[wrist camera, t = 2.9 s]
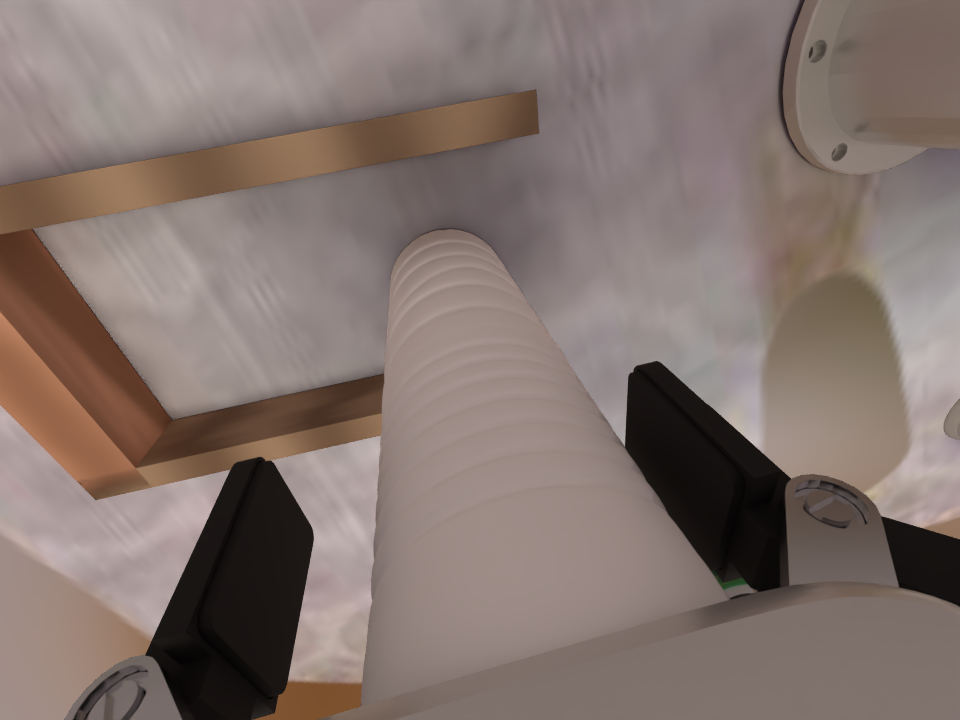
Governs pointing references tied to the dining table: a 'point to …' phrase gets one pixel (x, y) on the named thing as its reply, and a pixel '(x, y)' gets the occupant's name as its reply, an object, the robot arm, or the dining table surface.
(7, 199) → the channel
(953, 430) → the glass holder
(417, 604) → the water bottle
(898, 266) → the dining table surface
